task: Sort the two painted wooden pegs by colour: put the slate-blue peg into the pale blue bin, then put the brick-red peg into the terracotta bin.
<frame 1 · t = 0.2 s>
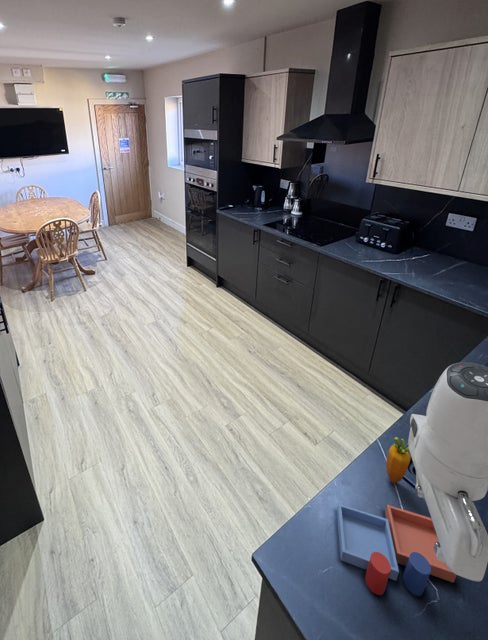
hand: (430, 523, 53), 28 cm above the worktop, tool pointing down, fingers open, 8 cm apart
red bin: (416, 544, 73), on the worktop
blue peg: (412, 583, 67), on the worktop
blue bin: (364, 543, 74), on the worktop
carrot: (392, 482, 86), on the worktop
red peg: (374, 583, 67), on the worktop
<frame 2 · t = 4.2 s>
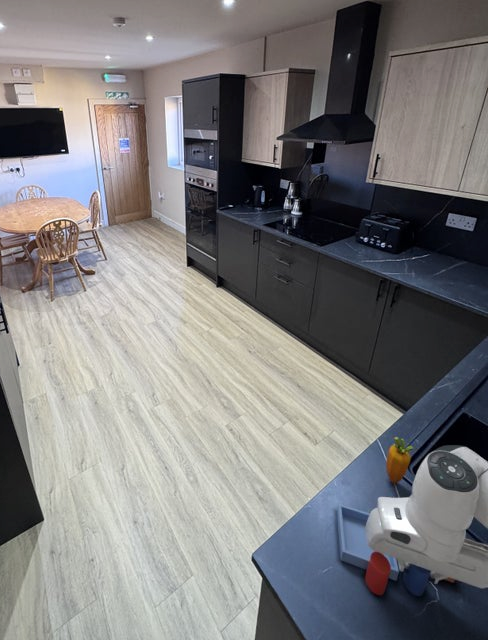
hand: (416, 573, 66), 4 cm above the worktop, tool pointing down, fingers closed on blue peg, 3 cm apart
blue peg: (413, 584, 67), on the worktop, touching gripper
everything else where it was.
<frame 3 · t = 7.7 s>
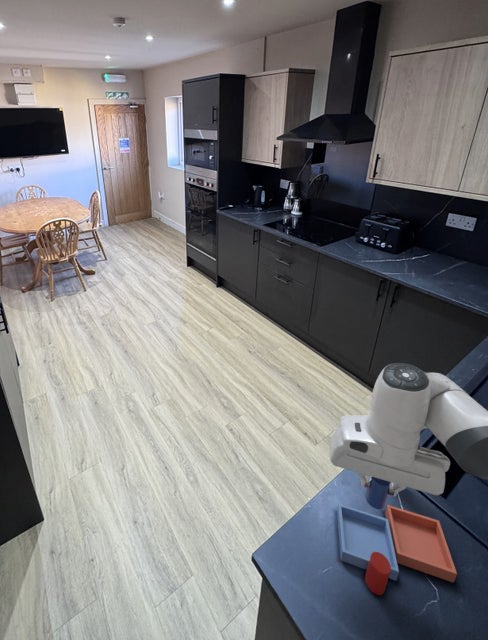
hand: (377, 488, 68), 18 cm above the worktop, tool pointing down, fingers closed on blue peg, 3 cm apart
blue peg: (374, 500, 69), point 14 cm above the worktop, touching gripper
everything else where it was.
when the fingers open (4 cm above the worktop, at t = 11.1 s): blue peg stays where it is, resting on blue bin.
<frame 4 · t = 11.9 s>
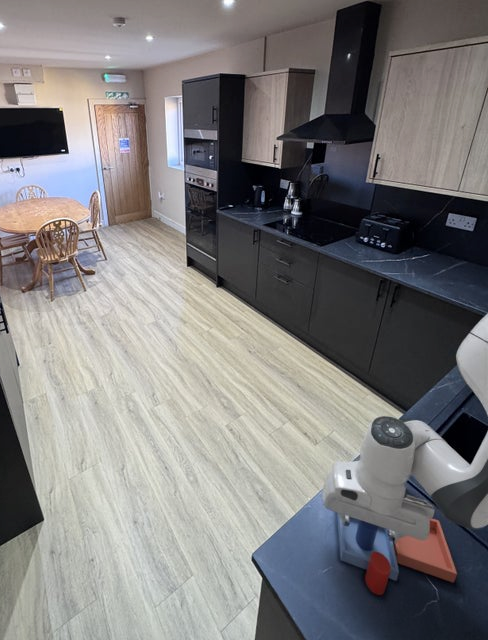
hand: (367, 530, 72), 5 cm above the worktop, tool pointing down, fingers open, 8 cm apart
blue peg: (364, 541, 74), resting on blue bin
everything else where it was.
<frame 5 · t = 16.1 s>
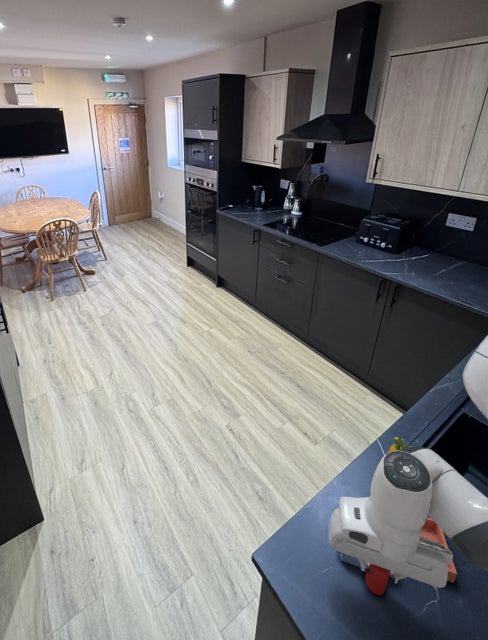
hand: (377, 572, 66), 4 cm above the worktop, tool pointing down, fingers closed on red peg, 3 cm apart
red peg: (374, 583, 67), on the worktop, touching gripper
everything else where it was.
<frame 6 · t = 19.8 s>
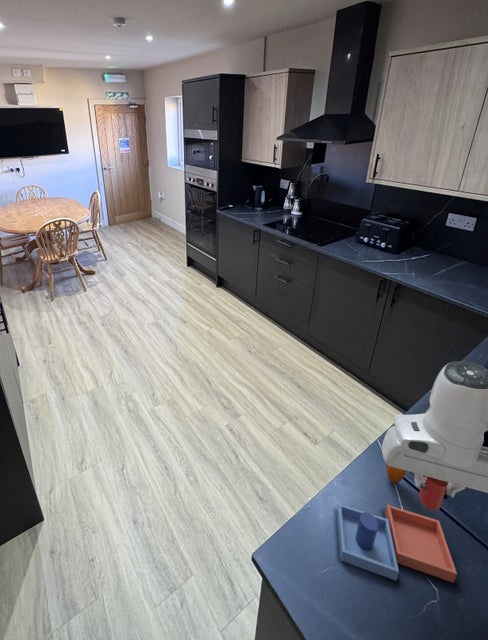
hand: (432, 489, 67), 19 cm above the worktop, tool pointing down, fingers closed on red peg, 3 cm apart
red peg: (429, 501, 68), point 15 cm above the worktop, touching gripper
everything else where it was.
when the fingers open (4 cm above the worktop, at t = 23.5 s): red peg stays where it is, resting on red bin.
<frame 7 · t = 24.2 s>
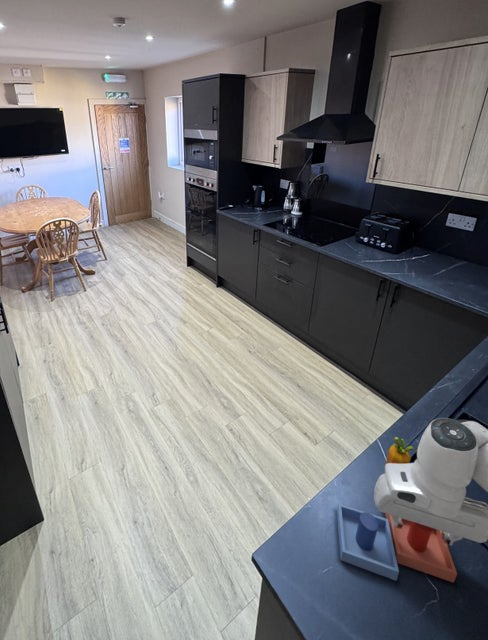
hand: (420, 532, 72), 4 cm above the worktop, tool pointing down, fingers open, 8 cm apart
red peg: (416, 542, 73), resting on red bin
everything else where it was.
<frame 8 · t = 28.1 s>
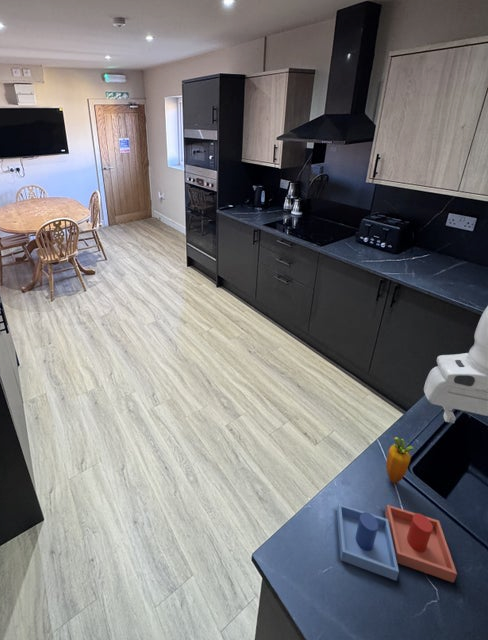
hand: (474, 426, 69), 29 cm above the worktop, tool pointing down, fingers open, 8 cm apart
nothing on the worktop moved.
at the end: blue peg inside the target area in the blue bin (0.0 cm from its centre), point 0.5 cm above the blue bin's base; red peg inside the target area in the red bin (0.1 cm from its centre), point 0.5 cm above the red bin's base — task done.
